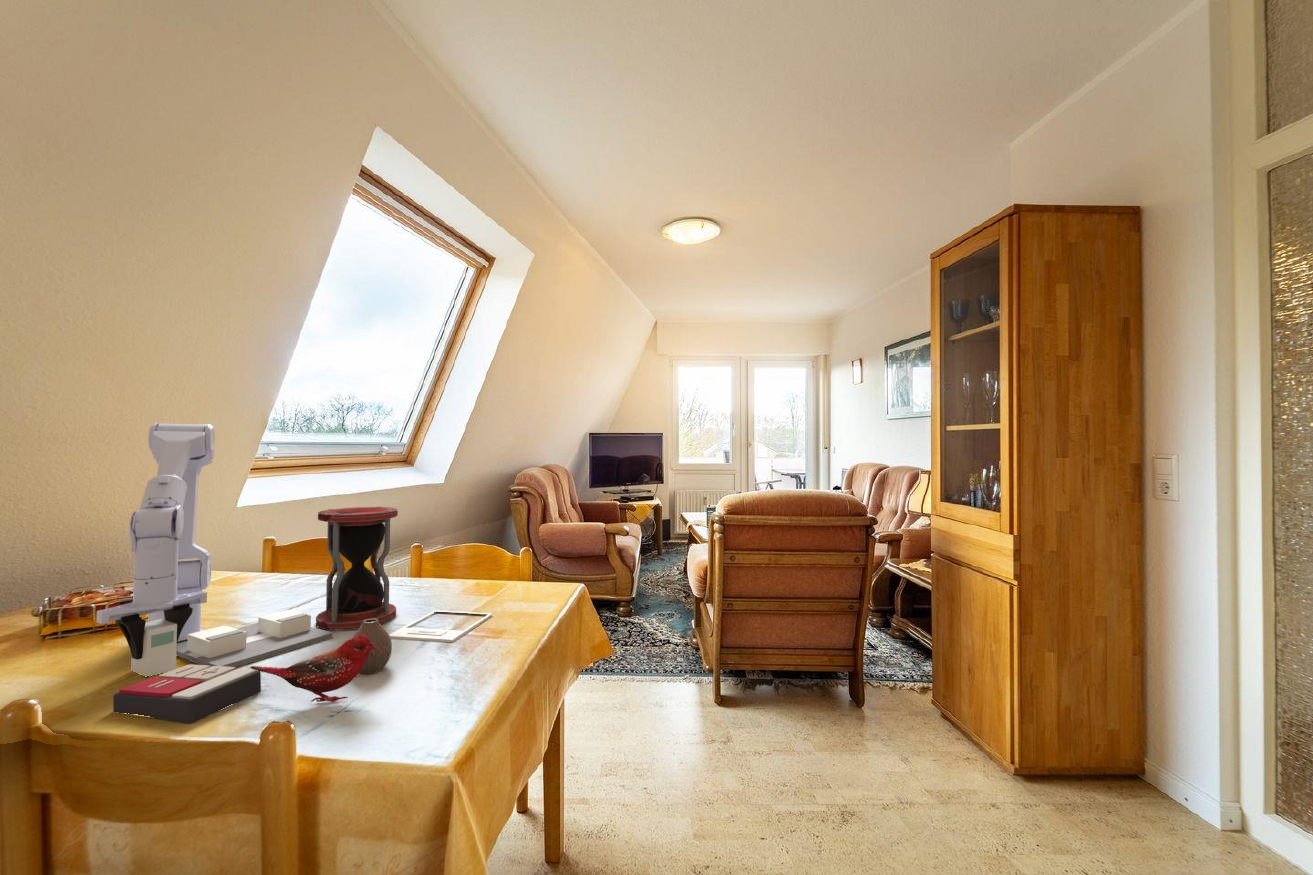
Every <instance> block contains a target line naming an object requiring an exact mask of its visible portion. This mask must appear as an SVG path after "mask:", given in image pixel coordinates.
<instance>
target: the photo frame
mask: <svg viewBox="0 0 1313 875" xmlns="http://www.w3.org/2000/svg"><path fill="white" fill-rule="evenodd" d="M436 611H438V612H454V613H455V612H457V613H468V614H467V615H471V614H483V615H482V616H483V617H481V619H479V620H477V621H476V622H474V623H473V624H472V625H470V626H468V627H466V628H465V629H464V630H453V629H452V630H451V629H435V628H434V629H433V628H420V627H419V628H418V627H417V628H416V627H413V626H416V625H417V624H419V623H421V622H423V621H425V620H427V619H428V618H430V617H432V616H433V615H432V614H434V615H435V613H436ZM434 612H435V613H434ZM454 613H453V614H454ZM431 615H432V616H431ZM492 615H493V613H492V612H471V611H456V610H455V611H452V610H434V611H432V612H430V613H428V614H426V615H424V616H422V617H420V618H418V619H416V620H414V621H412V622H410V623H408V624H406V625H405V626H402V627H401V628H399V629H397V630H395V631H393V632H391V633H388V634H389V636H390V639H392V640H393V639H394V640H395V639H397V640H410V641H424V642H425V641H426V642H428V641H429V642H440V643H441V642H442V643H454V642H456V641H457V640H458V639H460V638H461V637H463V636H464V635H466V634H468V633H469V632H471V631H472V630H474V629H475V628H476V627H477V625H478V626H480V625H481V624H482V623H484V622H485V621H486V620H487V621H488V619H490V618H491V617H493V616H492ZM429 616H430V617H429ZM427 617H428V618H427ZM489 617H490V618H489ZM426 618H427V619H426ZM424 619H425V620H424ZM420 621H421V622H420ZM483 621H484V622H483ZM418 622H419V623H418ZM481 622H482V623H481ZM480 623H481V624H480Z"/></svg>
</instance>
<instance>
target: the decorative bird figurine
mask: <svg viewBox="0 0 1313 875" xmlns="http://www.w3.org/2000/svg"><path fill="white" fill-rule="evenodd" d="M352 637H353V636H352ZM352 637H350V638H348V639H347V640H345V641H344V642H343V643H342V644H341V645H340V646H338V647H337V648H335V649H332V650H331V651H328V652H325V653H322V654H318V655H314V656H312V657H309V658H306V659H303V660H300V661H299V662H297V663H296V662H295V663H294V664H292V665H290V666H288V667H272V666H256V665H255V666H254V665H252V666H250V667H249V669H254V670H256V671H260V672H261V673H266V674H270V675H274V676H277V677H279V678H282V679H283V680H284V681H286V682H287V683H288V684H290V685H291V686H293V687H294V688H299V689H302V690H304V691H305V690H306V691H308V692H311V693H312V694H314V695H316V696H319V697H314V698H313V699H311V700H310V702H315V701H316V703H318V702H319V703H320V702H332V703H333V702H336V701H339V700H342V699H348V698H349V697H348V696H342V697H341V696H340V697H339V696H338V695H337V696H330V695H327V694H326V693H329V692H334V691H336V690H339V689H342V688H343V687H345V686H346V685H349V684H350V683H351V682H352V681H353V680H354V679H355V678H356V677H358V675H360V674H359V672H360V671H361V669H362V667H363V665H364V663H365V661H366V659H367V658H368V656H369V652H370V650H372V649H377V647H375V646H374V645H373V644H372V643H371V642H370V640H369V638H368V637H367V636H365V635H358V636H355V637H353V638H352ZM324 693H325V694H324Z"/></svg>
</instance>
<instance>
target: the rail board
mask: <svg viewBox="0 0 1313 875" xmlns="http://www.w3.org/2000/svg"><path fill="white" fill-rule="evenodd" d="M257 618H258V619H257V620H258V621H257V622H258V623H255V624H249V625H246V626H242V627H238V628H235V627H231V626H228V625H221V626H217V627H212V628H209V629H204V631H200V632H196V633H191V634H188V639H187V641H186V640H185V641H182V642H179V643H178V642H177V646H176V655H177V656H176V657H178V656H179V658H180V657H181V659H183V660H185V659H186V661H189V662H191V663H193V662H195V663H194V664H196V663H197V664H196V665H199V664H200V665H208V666H210V667H212V666H225V667H235V668H237V667H242V666H244V665H248V664H251V663H253V662H257V661H261V660H264V659H267V658H270V657H274V656H277V655H280V654H284V653H286V652H290V651H293V650H296V649H300V648H304V647H305V646H309V645H313V644H316V643H319V642H322V641H326V640H329V639H332V638H333V637H334V636H333V634H334V633H333V632H332V631H329V630H326V629H322V628H318V627H317V628H316V627H312V622H311V621H312V615H311V614H308V613H303V612H300V611H295V610H292V609H286V610H283V611H282V610H281V611H279V612H274V613H270V614H266V615H261V616H257Z"/></svg>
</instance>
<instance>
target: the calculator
mask: <svg viewBox="0 0 1313 875" xmlns="http://www.w3.org/2000/svg"><path fill="white" fill-rule="evenodd" d="M261 674H262V672H261V671H258V670H254V669H251V668H236V667H225V666H212V667H210V666H208V665H199V664H186V665H184V666H181V667H178V668H176V669H175V670H172V671H169V672H166V673H163V674H159V675H158V676H156V677H155V676H152V677H149V678H146V679H144V680H142V681H139V682H135V683H133V684H130V685H127V686H125V687H122V688H119V690H118V692H116V693H114V694H113V695H112V696H113V698H112V700H113V701H112V702H113V703H112V704H113V706H112V712H113V713H114V712H119V713H118V714H120V713H127V714H128V713H129V714H138V715H144V716H150V717H154V718H153V719H158V720H159V719H161V720H166V721H167V722H170V723H177V724H185V725H192V724H195V723H196V722H199V721H202V720H203V719H205V718H208V717H210V716H212V715H214V714H216V713H218V711H219V710H221V709H223V708H225V707H227V706H229V705H231V704H234V705H236V704H238V703H241V702H242V701H244V700H246V699H249V698H251V697H253V696H256V695H258V694H259V693H261V692H262V681H261V680H262V675H261ZM235 703H236V704H235ZM229 707H230V706H229ZM227 708H228V707H227ZM225 709H226V708H225ZM223 710H224V709H223ZM221 711H222V710H221ZM219 712H220V711H219ZM211 714H212V715H211ZM209 715H210V716H209ZM207 716H208V717H207Z"/></svg>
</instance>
